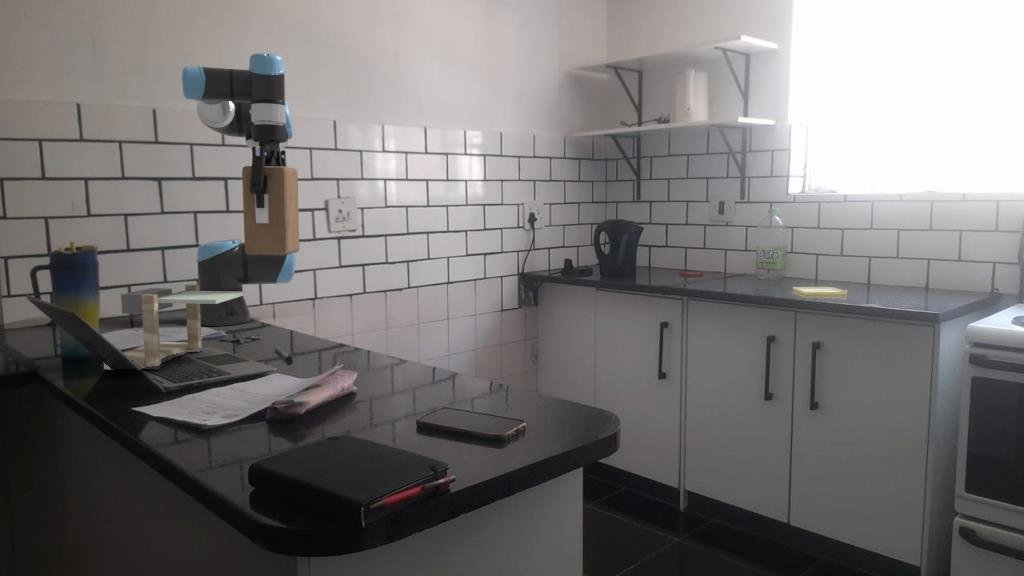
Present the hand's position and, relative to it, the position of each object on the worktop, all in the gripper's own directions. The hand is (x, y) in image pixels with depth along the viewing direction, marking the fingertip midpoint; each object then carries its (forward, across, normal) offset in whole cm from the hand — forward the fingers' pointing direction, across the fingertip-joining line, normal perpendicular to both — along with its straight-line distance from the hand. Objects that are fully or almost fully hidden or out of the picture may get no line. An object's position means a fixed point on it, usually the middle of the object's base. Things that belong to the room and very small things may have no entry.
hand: (271, 222), depth 169 cm
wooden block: (+7, 0, 0) cm, 7 cm away
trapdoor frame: (+30, +15, -21) cm, 39 cm away
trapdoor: (+19, +15, -14) cm, 28 cm away
